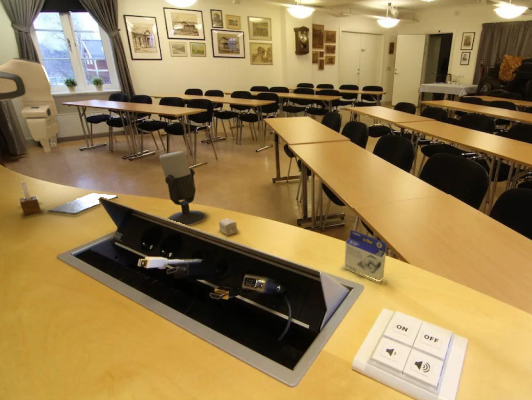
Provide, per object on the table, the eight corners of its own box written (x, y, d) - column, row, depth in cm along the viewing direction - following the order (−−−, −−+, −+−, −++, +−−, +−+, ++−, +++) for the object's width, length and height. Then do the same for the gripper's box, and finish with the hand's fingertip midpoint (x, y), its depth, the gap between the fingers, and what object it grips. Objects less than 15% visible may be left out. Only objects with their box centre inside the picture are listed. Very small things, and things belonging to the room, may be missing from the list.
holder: (24, 213, 121) (19, 198, 118) (41, 210, 124) (36, 195, 121) (25, 217, 117) (19, 202, 115) (42, 214, 120) (37, 199, 118)
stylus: (29, 212, 120) (19, 182, 115) (33, 211, 121) (23, 181, 117) (32, 213, 120) (22, 182, 115) (36, 211, 121) (26, 181, 116)
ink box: (343, 268, 89) (345, 231, 85) (348, 265, 91) (350, 228, 87) (379, 285, 82) (383, 246, 78) (384, 281, 84) (388, 242, 80)
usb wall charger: (230, 228, 112) (229, 217, 110) (241, 234, 107) (240, 224, 106) (220, 231, 109) (218, 220, 108) (230, 238, 105) (229, 227, 103)
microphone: (184, 209, 126) (175, 147, 117) (212, 214, 122) (205, 149, 113) (159, 223, 115) (147, 154, 106) (189, 228, 111) (179, 158, 102)
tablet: (47, 212, 122) (46, 210, 121) (92, 195, 140) (92, 193, 139) (75, 216, 119) (75, 213, 119) (117, 197, 137) (117, 195, 137)
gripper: (36, 107, 118) (47, 144, 123) (19, 112, 101) (32, 155, 106) (58, 106, 121) (67, 143, 126) (44, 112, 104) (56, 154, 109)
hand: (51, 149), depth 116 cm, fingers open, 8 cm apart
